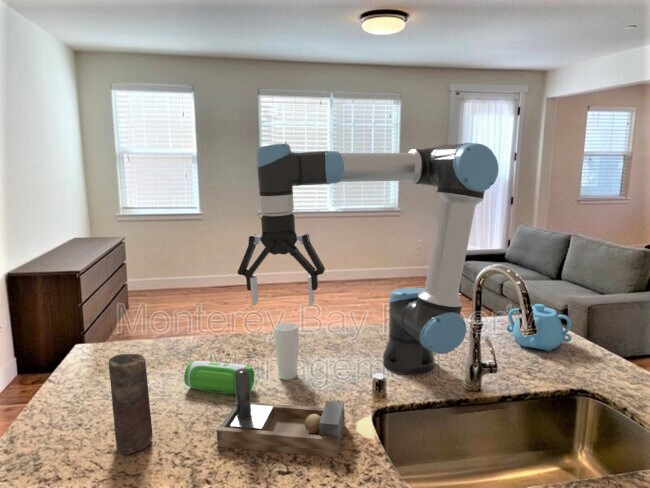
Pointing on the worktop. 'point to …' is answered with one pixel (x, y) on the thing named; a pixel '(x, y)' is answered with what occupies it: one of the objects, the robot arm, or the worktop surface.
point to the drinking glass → (286, 349)
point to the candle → (130, 402)
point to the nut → (312, 423)
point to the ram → (249, 406)
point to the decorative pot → (542, 329)
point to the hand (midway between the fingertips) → (283, 303)
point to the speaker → (214, 376)
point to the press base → (289, 431)
